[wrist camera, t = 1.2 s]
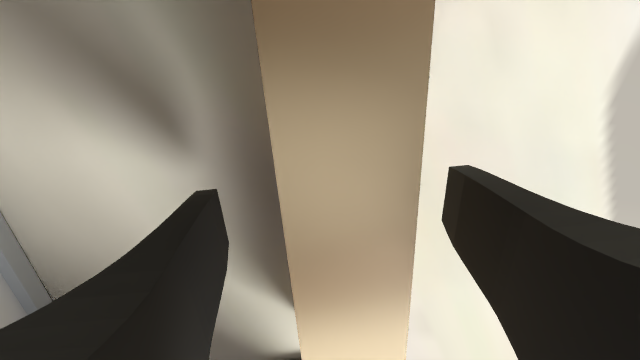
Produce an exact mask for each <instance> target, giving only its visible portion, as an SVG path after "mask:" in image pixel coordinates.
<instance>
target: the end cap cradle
mask: <svg viewBox="0 0 640 360" xmlns="http://www.w3.org/2000/svg"><path fill="white" fill-rule="evenodd" d="M51 302H53V301H52V300H51V298H50V296H49V295H48V293H47V291H46V289H45V288H44V286H43V284H42V283H41V281H40V279H39V277H38V276H37V274H36V272H35V271H34V269H33V267H32V265H31V264H30V262H29V260H28V259H27V257H26V255H25V253H24V252H23V250H22V248H21V247H20V245H19V243H18V241H17V240H16V238H15V236H14V234H13V233H12V231H11V229H10V228H9V226H8V224H7V222H6V221H5V219H4V217H3V216H2V214H1V212H0V329H1V328H3V327H5V326H7V325H9V324H11V323H13V322H15V321H17V320H19V319H21V318H23V317H25V316H27V315H29V314H31V313H33V312H35V311H36V310H38V309H40V308H42V307H44V306H46V305H48V304H49V303H51Z"/></svg>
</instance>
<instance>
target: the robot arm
mask: <svg viewBox="0 0 640 360" xmlns="http://www.w3.org/2000/svg"><path fill="white" fill-rule="evenodd" d="M442 222H443V225H444V227H445V229H446V232H447V234H448V236H449V238H450V240H451V243H452V245H453V247H454V248H455V250H456V252H457V253H458V255H459V256H460V258H461V260H462V261H463V263H464V264H465V266H466V268H467V269H468V271H469V272H470V274H471V275H472V277H473V278H474V280H475V282H476V283H477V285H478V286H479V288H480V289H481V291H482V292H483V294H484V296H485V297H486V299H487V300H488V302H489V303H490V305H491V307H492V308H493V310H494V312H495V314H496V315H497V317H498V319H499V321H500V323H501V325H502V327H503V329H504V331H505V333H506V335H507V337H508V339H509V341H510V343H511V345H512V347H513V349H514V351H515V353H516V356H517V358H518V360H640V229H639V228H636V227H632V226H628V225H624V224H620V223H617V222H614V221H610V220H607V219H604V218H601V217H598V216H594V215H591V214H588V213H585V212H582V211H579V210H576V209H574V208H571V207H568V206H565V205H563V204H560V203H558V202H555V201H553V200H550V199H547V198H545V197H543V196H540V195H538V194H535V193H533V192H531V191H528V190H526V189H524V188H522V187H519V186H517V185H515V184H513V183H510V182H508V181H506V180H504V179H501V178H499V177H497V176H495V175H492V174H490V173H488V172H485V171H483V170H481V169H478V168H475V167H472V166H469V165H464V166H454V167H449V171H448V178H447V186H446V193H445V200H444V207H443V214H442ZM228 247H229V241H228V236H227V232H226V227H225V223H224V219H223V214H222V210H221V205H220V201H219V196H218V192H217V189H212V190H202V191H196V192H195V193H193V194H192V195H191V196H190V197H189V198H188V199H187V200H186V201H185V202H184V203H183V204H182V205H181V206H180V207H179V208H178V209H177V210H176V211H175V212H173V213H172V214H171V215H170V216H169V217H168V218H167V219H166V220H165V221H164V222H163V223H162V224H161V225H160V226H159V227H157V228H156V229H155V230H154V231H153V232H152V233H150V234H149V235H148V236H147V237H146V238H145V239H143V240H142V241H141V242H140V243H139V244H137V245H136V246H135V247H134V248H133V249H132V250H130V251H129V252H128V253H126V254H125V255H124V256H122V257H121V258H120V259H118V260H117V261H116V262H114V263H113V264H111V265H110V266H109V267H107V268H106V269H104V270H103V271H102V272H100V273H99V274H97V275H96V276H94V277H93V278H91V279H89V280H88V281H86V282H84V283H83V284H81V285H79V286H78V287H76V288H75V289H73V290H71V291H70V292H68V293H66V294H65V295H63V296H62V297H60V298H58V299H56V300H55V301H53V302H51V303H49V304H48V305H46V306H44V307H42V308H40V309H38V310H36V311H35V312H33V313H31V314H29V315H27V316H25V317H23V318H21V319H19V320H17V321H15V322H13V323H11V324H9V325H7V326H5V327H3V328H1V329H0V360H209V353H210V347H211V341H212V336H213V331H214V327H215V322H216V318H217V313H218V309H219V304H220V300H221V295H222V290H223V286H224V281H225V276H226V271H227V261H228Z"/></svg>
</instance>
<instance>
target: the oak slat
mask: <svg viewBox="0 0 640 360" xmlns="http://www.w3.org/2000/svg"><path fill="white" fill-rule="evenodd" d="M251 4H252V12H253V19H254V26H255V33H256V40H257V47H258V54H259V61H260V68H261V75H262V82H263V89H264V96H265V103H266V110H267V118H268V125H269V132H270V139H271V146H272V153H273V160H274V167H275V174H276V181H277V188H278V195H279V202H280V209H281V216H282V224H283V231H284V238H285V245H286V252H287V259H288V266H289V273H290V280H291V287H292V294H293V301H294V308H295V315H296V322H297V330H298V337H299V344H300V351H301V358H302V360H406V349H407V337H408V325H409V313H410V301H411V288H412V276H413V264H414V252H415V240H416V228H417V216H418V203H419V191H420V179H421V167H422V155H423V143H424V130H425V118H426V106H427V94H428V82H429V70H430V58H431V45H432V33H433V21H434V9H435V0H251Z"/></svg>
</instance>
